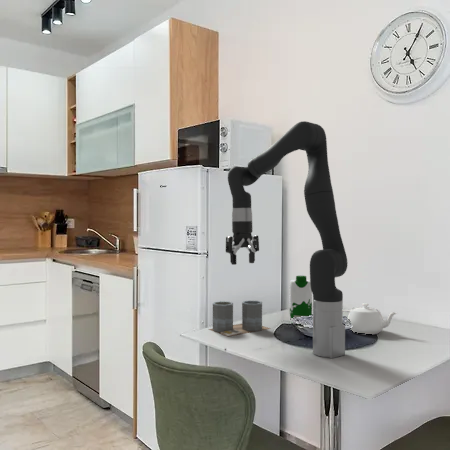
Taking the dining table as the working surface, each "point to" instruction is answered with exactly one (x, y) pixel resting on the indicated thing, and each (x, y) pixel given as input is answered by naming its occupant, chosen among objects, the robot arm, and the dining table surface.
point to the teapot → (367, 319)
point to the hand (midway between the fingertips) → (242, 263)
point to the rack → (249, 318)
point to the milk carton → (300, 297)
